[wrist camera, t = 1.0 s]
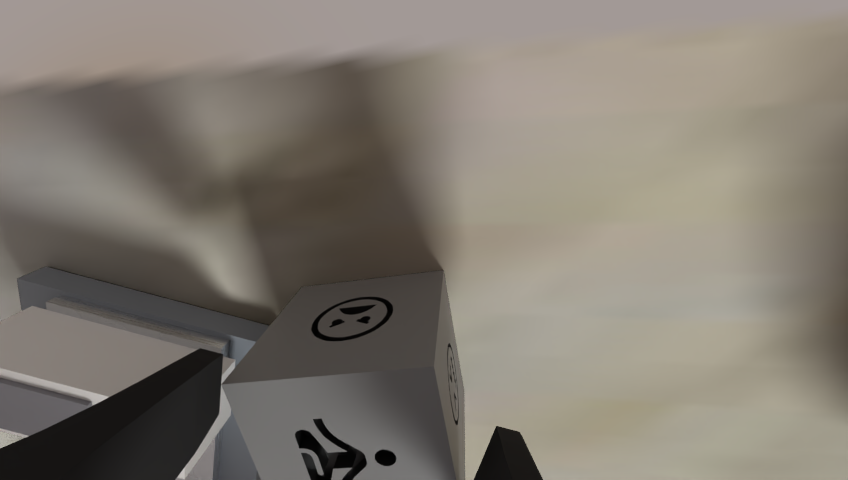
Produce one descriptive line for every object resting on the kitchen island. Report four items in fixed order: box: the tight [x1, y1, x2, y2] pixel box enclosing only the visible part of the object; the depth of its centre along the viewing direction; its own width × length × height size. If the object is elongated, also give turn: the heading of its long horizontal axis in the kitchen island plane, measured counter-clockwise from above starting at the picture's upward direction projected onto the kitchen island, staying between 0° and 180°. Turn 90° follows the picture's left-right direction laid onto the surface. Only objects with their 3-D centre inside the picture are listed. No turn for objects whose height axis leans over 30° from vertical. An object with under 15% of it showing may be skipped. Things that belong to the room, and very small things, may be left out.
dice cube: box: [221, 270, 465, 480], centre depth 12 cm, size 5×5×5 cm
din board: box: [17, 267, 269, 480], centre depth 16 cm, size 14×9×2 cm, turn 166°
